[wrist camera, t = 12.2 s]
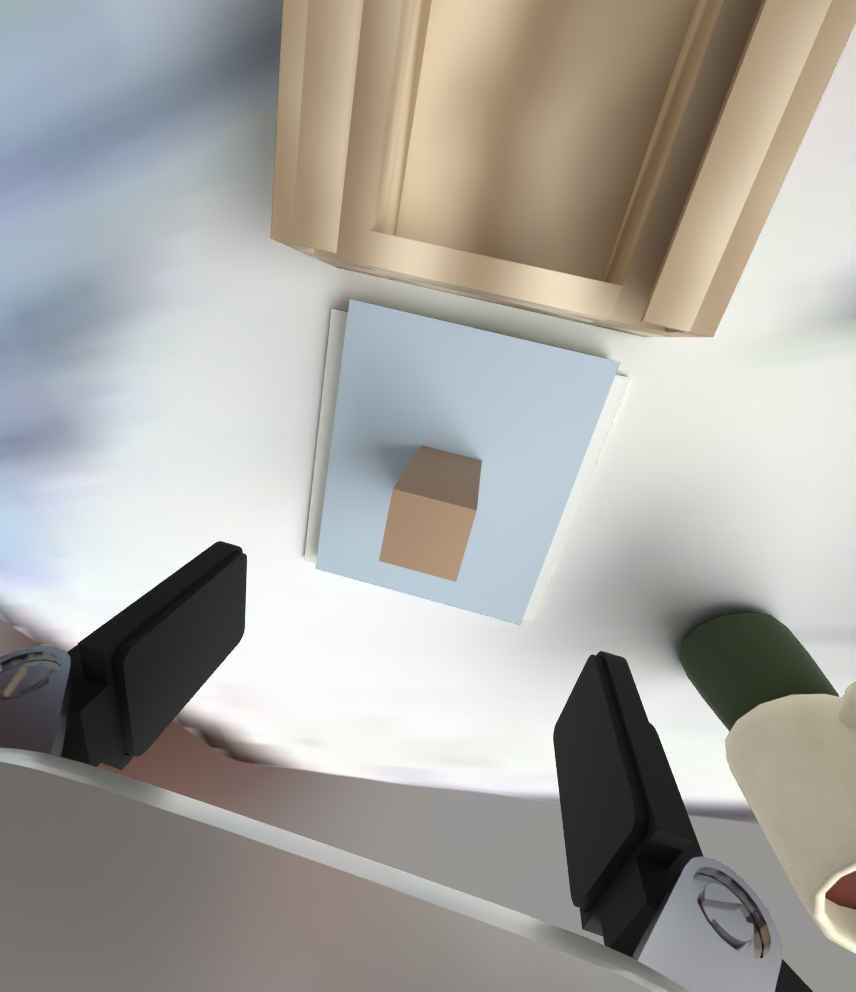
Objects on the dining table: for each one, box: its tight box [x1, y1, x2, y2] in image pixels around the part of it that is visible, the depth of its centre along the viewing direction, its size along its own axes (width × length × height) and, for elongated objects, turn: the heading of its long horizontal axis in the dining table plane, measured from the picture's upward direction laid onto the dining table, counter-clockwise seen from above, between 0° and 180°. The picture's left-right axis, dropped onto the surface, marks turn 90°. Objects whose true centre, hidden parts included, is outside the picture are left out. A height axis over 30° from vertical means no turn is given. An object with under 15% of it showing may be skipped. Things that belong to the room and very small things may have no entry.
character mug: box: [679, 613, 856, 954], centre depth 20 cm, size 11×7×13 cm, turn 4°
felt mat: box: [304, 309, 630, 623], centre depth 25 cm, size 16×16×1 cm
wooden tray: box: [271, 0, 856, 337], centre depth 14 cm, size 16×18×7 cm
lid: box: [316, 299, 620, 625], centre depth 21 cm, size 14×16×8 cm
